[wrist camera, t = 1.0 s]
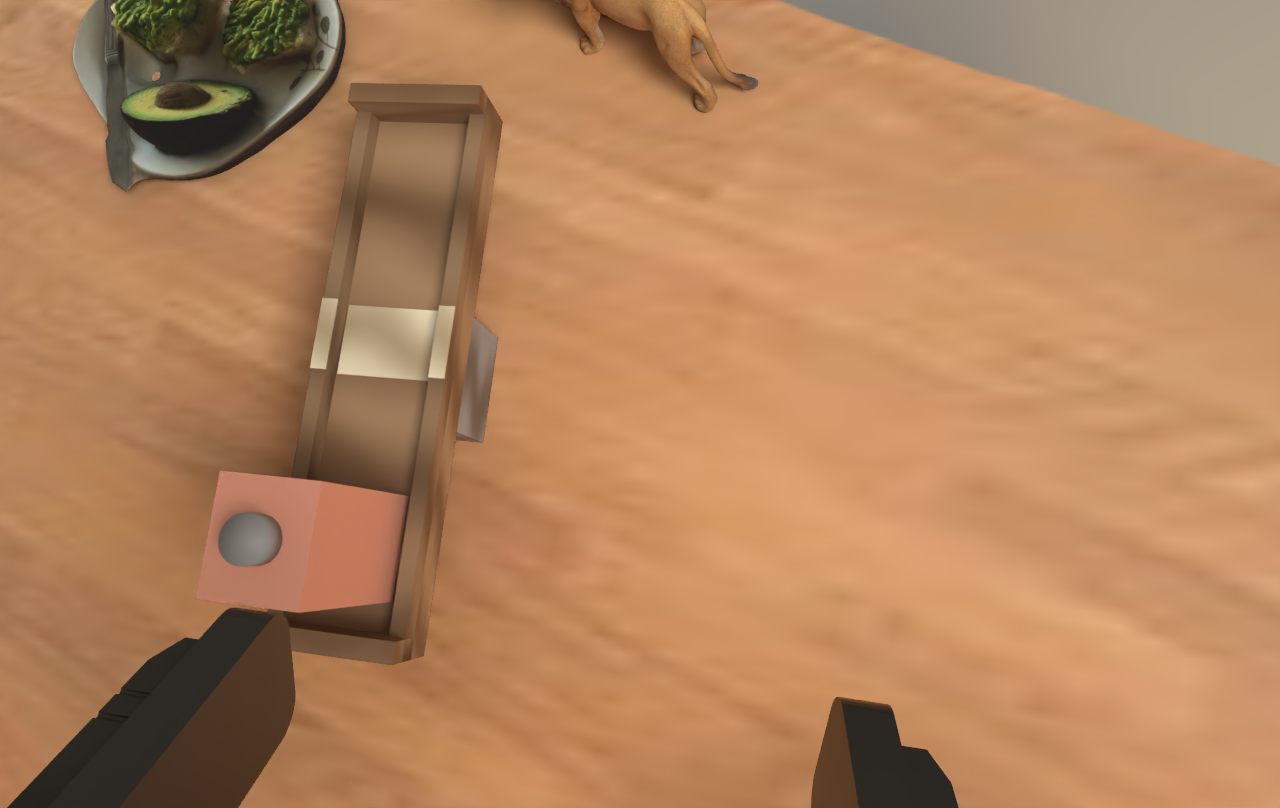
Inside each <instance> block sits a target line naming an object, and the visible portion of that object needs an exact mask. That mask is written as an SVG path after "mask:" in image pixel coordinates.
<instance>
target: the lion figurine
mask: <svg viewBox="0 0 1280 808" xmlns="http://www.w3.org/2000/svg"><path fill="white" fill-rule="evenodd" d="M555 2H556V3H558V2H559V3H560V4H562V5H564V6H565V7H569V8H570V9H571V10H572V13H573V15H574V17H575V19H576V21H577V23H578V24H579V26H580V27H581V28H582V30H583V31H584V32H585V33H586V35H585V36H584V37H582V38H581V45H580V46H581V49H582V50H583V52H584V53H585V54H593V53H595V52H598V51H599V50H600V49H601V47H602V46H603V44H604V42H605V39H604V36H603V33H602V31H601V29H600V27H599V25H598V22H599V20H600V15H601V14H602V15H607V16H608V17H610V18H611V19H613V20H615V21H617V22H619V23H621V24H623V25H626V26H628V27H631V28H634V29H638V30H644V31H645V30H651V31H652V32H653V36H654V39H655V42H656V45H657V47H658V49H659V51H660V53H661V54H662V56H663V57H664V59H665V61H666V62H667V63H668V65H669V66H670V68H671V69H672V70H673V71H674V72H675V73H676V74H677V75H678V76H679V77H680V78H681V79H683V80H684V81H685V82H686V83H687V84H689V85H690V86H691V87H692V88H693V89H694V90H695V91H697V93H696V94H695V95H694V104H695V106H696V108H697V110H699V111H701V112H709V111H710V110H712V109H713V107H714V106H715V104H716V102H717V95H716V93H715V91H714V89H713V87H712V85H711V83H710V82H709V81H708V80H707V79H705V78H704V77H703V76H702V75H701V74H700V72H699V71H698V69H697V68H696V66H695V64H694V62H693V60H692V56H691V53H693V54H694V53H698V52H700V51H704V50H706V52H707V54H708V56H709V58H710V60H711V61H712V63H713V64H714V66H715V68H716V69H717V71H718V72H719V73H720V74H721V76H723V77H724V78H725V79H726V80H727V81H729V82H732V83H734V84H736V85H738V86H739V87H741V88H742V89H754V88H756V87H757V86H758V80H757V79H755V78H752V77H748V76H746V75H744V74H736V73H733V72H731V71H730V70H729V69H728V68H727V67H726V65H725V63H724V62H723V60H722V58H721V56H720V53H719V51H718V49H717V47H716V44H715V42H714V40H713V38H712V35H711V34H710V32H709V29H708V27H707V25H706V8H705V5H704V3H703V1H702V0H555Z"/></svg>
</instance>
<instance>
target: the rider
mask: <svg viewBox="0 0 1280 808" xmlns="http://www.w3.org/2000/svg"><path fill="white" fill-rule="evenodd" d="M408 498H409V496H405V495H400V494H394V493H388V492H382V491H376V490H371V489H365V488H359V487H353V486H347V485H341V484H336V483H330V482H324V481H316V480H306V479H297V478H287V477H278V476H268V475H259V474H249V473H240V472H230V471H220V473H219V478H218V483H217V488H216V493H215V499H214V504H213V509H212V514H211V519H210V524H209V529H208V535H207V540H206V545H205V550H204V555H203V560H202V565H201V571H200V576H199V581H198V586H197V591H196V596H195V599H200V600H207V601H215V602H222V603H229V604H237V605H244V606H252V607H259V608H267V609H274V610H282V611H289V612H296V613H302V612H310V611H319V610H327V609H336V608H344V607H352V606H361V605H369V604H378V603H386V602H392V601H393V594H394V588H395V581H396V575H397V569H398V562H399V556H400V549H401V543H402V536H403V530H404V523H405V517H406V511H407V504H408Z"/></svg>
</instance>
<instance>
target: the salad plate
mask: <svg viewBox="0 0 1280 808" xmlns="http://www.w3.org/2000/svg"><path fill="white" fill-rule="evenodd" d="M344 47H345V23H344V18H343V14H342V12H341V9H340V6H339V3H338V0H233V1H231V2H228V1H224V0H96V1H95V3H94V4H93V5H92V6H91V7H90V9H89V10H88V11H87V13H86V14H85V16H84V18H83V20H82V23H81V25H80V28H79V31H78V34H77V38H76V41H75V45H74V49H73V62H74V68H75V70H76V72H77V74H78V77H79V79H80V82H81V84H82V86H83V88H84V89H85V91H86V93H87V94H88V95H89V97H90V99H91V100H92V102H93V103H94V105H95V106H96V108H97V110H98V112H99V113H100V114H101V116H102V117H103V119H104V120H105V121H106V123H107V127H108V131H109V136H108V137H107V139H106V150H107V160H108V166H109V171H110V176H111V179H112V182H113V183H114V184H116V185H118V186H120V187H121V188H122V189H123V190H125V191H127V190H128V189H129V188H130V187H131V186H132V185H133V184H134V183H136V182H138V181H140V180H145V179H166V180H191V179H198V178H204V177H209V176H213V175H216V174H220V173H222V172H224V171H227V170H229V169H231V168H233V167H235V166H236V165H238V164H240V163H241V162H243V161H244V160H246V159H248V158H249V157H251V156H253V155H255V154H256V153H258V152H259V151H261V150H262V149H264V148H265V147H266V146H267V145H269V144H270V143H271V142H272V141H274V140H275V139H276V138H278V137H279V136H281V135H282V134H283V133H285V132H286V131H287V130H289V129H290V128H292V127H293V126H294V125H295V124H297V123H298V122H299V121H300V120H302V119H303V118H304V117H305V116H306V115H307V114H308V113H310V112H311V111H312V110H313V108H314V107H315V106H316V105H317V104H318V103H319V101H320V100H321V99H322V98H323V96H324V95H325V93H326V92H327V91H328V89H329V88H330V87H331V85H332V84H333V82H334V80H335V79H336V76H337V73H338V70H339V67H340V64H341V61H342V57H343V53H344ZM158 71H159V72H160V75H161V76H160V78H159V79H158V80H156V81H153V80H152V75H153V74H154V73H155V72H158ZM291 83H292V84H291Z"/></svg>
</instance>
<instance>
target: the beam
mask: <svg viewBox="0 0 1280 808" xmlns="http://www.w3.org/2000/svg"><path fill="white" fill-rule="evenodd" d="M348 102H349V103H350V104H351V105H352V106H353V107H354V108H355V109H356V111H357V116H356V121H355V127H354V132H353V138H352V143H351V149H350V155H349V160H348V166H347V171H346V177H345V182H344V188H343V194H342V199H341V205H340V210H339V216H338V221H337V227H336V232H335V238H334V244H333V249H332V255H331V260H330V266H329V271H328V277H327V283H326V288H325V294H324V298H322V303H321V308H320V314H319V319H318V325H317V330H316V336H315V342H314V347H313V353H312V358H311V364H310V368H311V372H310V377H309V383H308V388H307V394H306V399H305V405H304V410H303V416H302V422H301V427H300V433H299V438H298V444H297V449H296V455H295V461H294V466H293V472H292V477H291V478H297V479H306V480H316V481H324V482H330V483H336V484H341V485H347V486H353V487H359V488H365V489H371V490H376V491H382V492H388V493H394V494H400V495H405V496H409V498H408V504H407V511H406V517H405V523H404V530H403V536H402V543H401V549H400V556H399V562H398V569H397V575H396V581H395V588H394V594H393V601H392V602H386V603H378V604H369V605H361V606H352V607H344V608H336V609H327V610H319V611H310V612H302V613H296V612H289V611H282V610H274V609H268V611H267V612H268V613H274V614H281V615H284V616H285V617H286V618H287V620H288V623H289V631H290V641H291V651H296V652H303V653H310V654H317V655H324V656H331V657H338V658H345V659H352V660H359V661H366V662H373V663H380V664H387V665H394V664H398V663H401V662H405V661H408V660H412V659H415V658H419V657H422V656H424V651H425V645H426V638H427V631H428V624H429V617H430V611H431V604H432V597H433V590H434V584H435V577H436V570H437V563H438V556H439V550H440V543H441V536H442V529H443V523H444V516H445V509H446V502H447V495H448V489H449V482H450V475H451V468H452V462H453V455H454V448H455V441H456V440H461V441H472V442H483V441H484V434H485V427H486V420H487V413H488V406H489V399H490V392H491V384H492V377H493V370H494V363H495V356H496V349H497V342H498V337H497V336H496V335H494V334H493V333H492V332H491V331H489V330H488V329H487V328H486V327H485V326H483V325H482V324H481V323H480V322H478V321H477V320H476V319H475V318H474V313H475V306H476V299H477V292H478V285H479V279H480V272H481V265H482V258H483V252H484V245H485V238H486V231H487V224H488V218H489V211H490V204H491V197H492V191H493V184H494V177H495V170H496V163H497V157H498V150H499V143H500V136H501V130H502V123H503V121H502V120H501V118H500V116H499V115H498V113H497V111H496V110H495V108H494V106H493V105H492V103H491V101H490V100H489V98H488V96H487V95H486V93H485V91H484V90H483V88H482V86H481V85H427V84H371V83H351V86H350V92H349V97H348Z"/></svg>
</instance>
